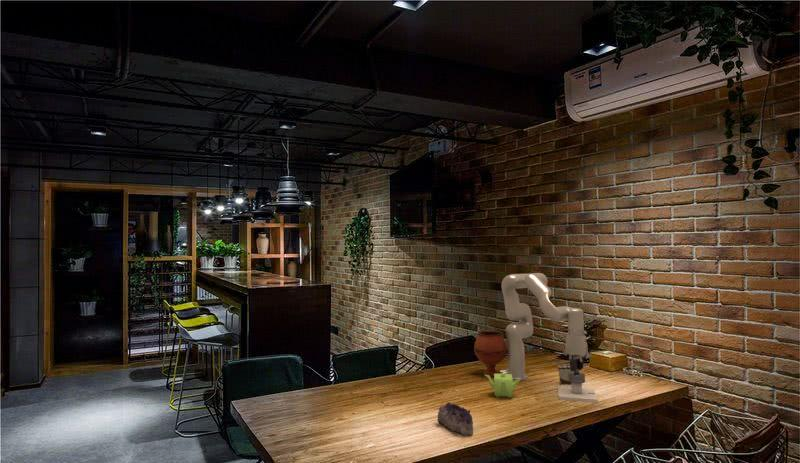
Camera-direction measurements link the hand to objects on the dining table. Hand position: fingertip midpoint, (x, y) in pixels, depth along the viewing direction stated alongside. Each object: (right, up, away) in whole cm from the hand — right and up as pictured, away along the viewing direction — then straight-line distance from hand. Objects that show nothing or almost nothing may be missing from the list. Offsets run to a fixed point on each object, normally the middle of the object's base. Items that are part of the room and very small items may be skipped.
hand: (576, 368), depth 236 cm
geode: (-66, -13, -41) cm, 79 cm away
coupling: (0, -6, 0) cm, 6 cm away
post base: (0, -14, -1) cm, 14 cm away
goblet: (-36, -15, +39) cm, 55 cm away
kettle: (-38, -14, 0) cm, 41 cm away
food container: (+3, -15, +20) cm, 25 cm away
